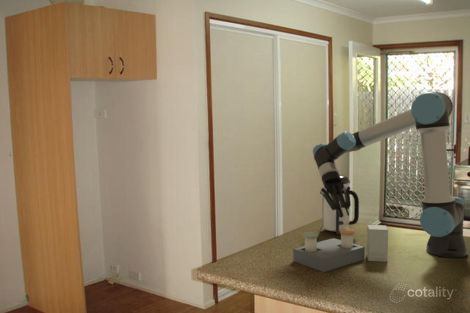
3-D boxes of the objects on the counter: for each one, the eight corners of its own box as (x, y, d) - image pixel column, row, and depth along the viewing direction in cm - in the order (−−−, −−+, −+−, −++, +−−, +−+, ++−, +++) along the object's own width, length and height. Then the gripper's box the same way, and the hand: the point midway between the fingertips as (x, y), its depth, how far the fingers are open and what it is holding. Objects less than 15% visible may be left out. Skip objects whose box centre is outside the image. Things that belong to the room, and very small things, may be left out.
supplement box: (387, 262, 183) (388, 229, 181) (367, 261, 184) (368, 229, 183) (385, 256, 190) (386, 225, 189) (366, 255, 191) (366, 224, 190)
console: (364, 259, 186) (364, 246, 186) (324, 272, 173) (324, 258, 172) (333, 249, 199) (333, 238, 199) (293, 261, 185) (293, 248, 185)
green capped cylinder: (321, 259, 183) (321, 233, 182) (310, 262, 180) (310, 235, 179) (310, 255, 188) (310, 230, 187) (300, 258, 184) (300, 232, 183)
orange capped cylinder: (357, 255, 187) (357, 230, 186) (347, 258, 184) (348, 232, 183) (345, 252, 191) (346, 227, 190) (336, 255, 188) (336, 229, 187)
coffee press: (320, 235, 221) (320, 171, 217) (319, 227, 236) (319, 167, 233) (358, 236, 218) (359, 172, 215) (355, 228, 233) (356, 167, 230)
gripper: (341, 180, 205) (359, 227, 190) (313, 181, 202) (328, 229, 188) (347, 169, 199) (365, 217, 185) (317, 171, 197) (334, 219, 182)
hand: (347, 223), depth 186 cm, fingers closed
